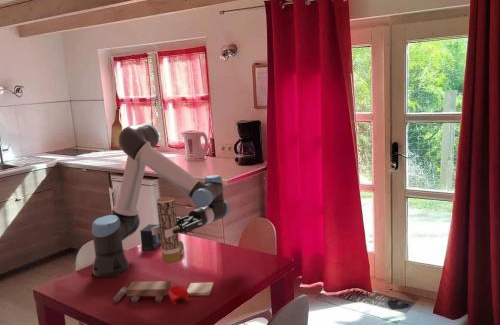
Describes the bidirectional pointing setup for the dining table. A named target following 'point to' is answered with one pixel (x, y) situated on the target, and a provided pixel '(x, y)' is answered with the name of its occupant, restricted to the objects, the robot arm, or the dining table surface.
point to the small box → (150, 239)
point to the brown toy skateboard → (144, 290)
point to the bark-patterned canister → (167, 222)
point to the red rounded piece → (177, 293)
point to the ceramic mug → (181, 246)
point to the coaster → (200, 288)
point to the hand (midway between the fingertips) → (159, 232)
